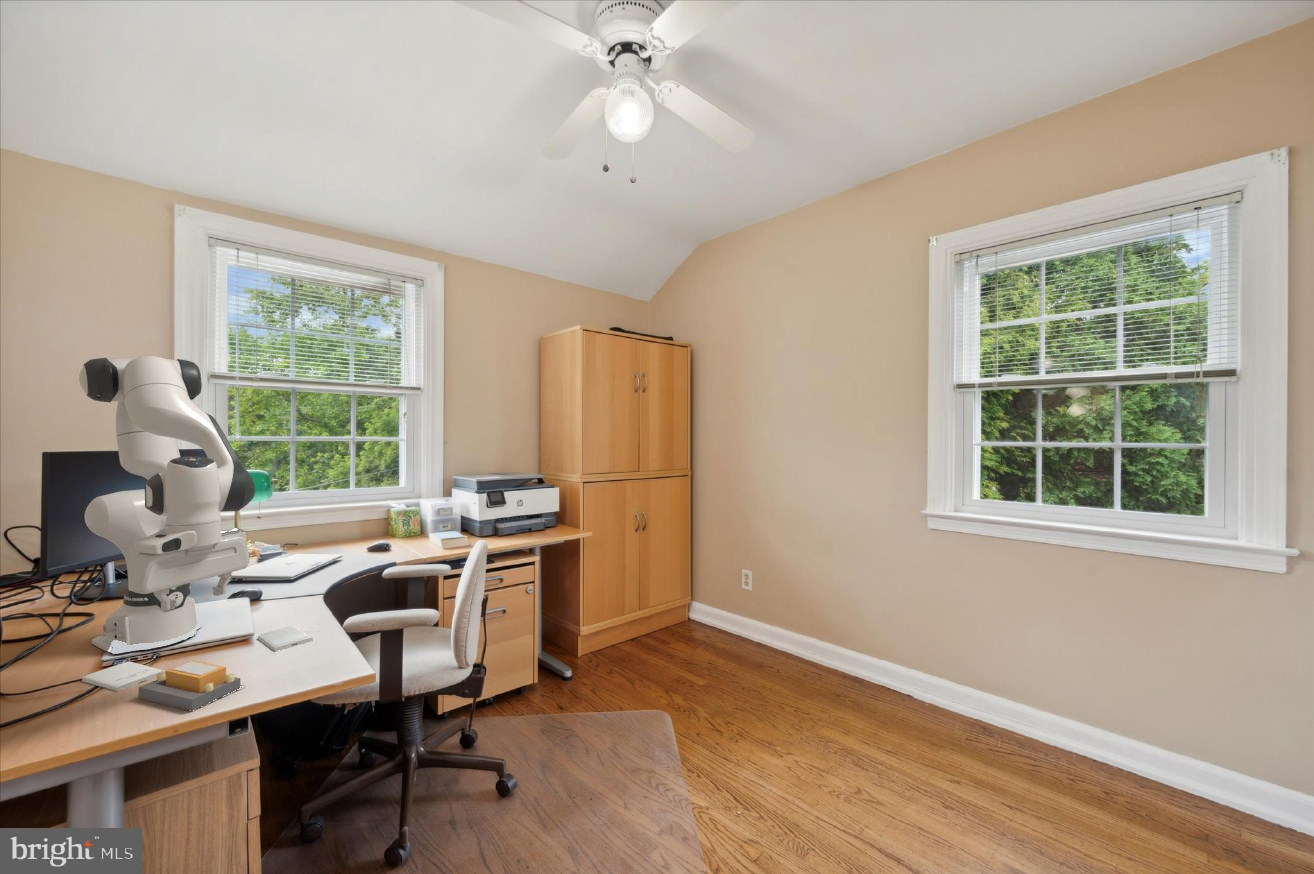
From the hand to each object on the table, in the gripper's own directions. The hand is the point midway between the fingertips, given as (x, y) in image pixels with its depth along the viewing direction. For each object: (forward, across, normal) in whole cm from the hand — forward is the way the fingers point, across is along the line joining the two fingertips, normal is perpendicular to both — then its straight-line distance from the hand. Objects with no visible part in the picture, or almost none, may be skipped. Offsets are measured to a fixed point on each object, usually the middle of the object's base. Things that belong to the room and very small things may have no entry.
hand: (195, 601), depth 111 cm
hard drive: (+20, -25, -7) cm, 33 cm away
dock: (+19, 0, 0) cm, 19 cm away
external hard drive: (+20, +1, -21) cm, 29 cm away
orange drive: (+19, 0, 0) cm, 19 cm away
